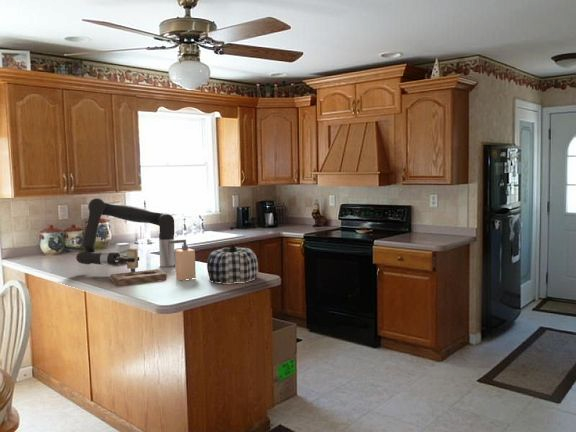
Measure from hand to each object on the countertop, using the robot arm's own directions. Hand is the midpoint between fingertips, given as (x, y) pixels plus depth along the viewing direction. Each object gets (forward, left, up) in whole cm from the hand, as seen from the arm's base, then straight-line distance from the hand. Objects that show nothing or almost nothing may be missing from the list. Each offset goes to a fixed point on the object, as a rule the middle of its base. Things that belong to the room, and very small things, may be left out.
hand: (136, 259), depth 299 cm
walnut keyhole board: (+3, +13, -10) cm, 16 cm away
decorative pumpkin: (-41, +41, -10) cm, 59 cm away
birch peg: (+2, -2, -10) cm, 10 cm away
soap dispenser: (-18, +24, -10) cm, 32 cm away
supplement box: (-5, -51, -10) cm, 52 cm away
